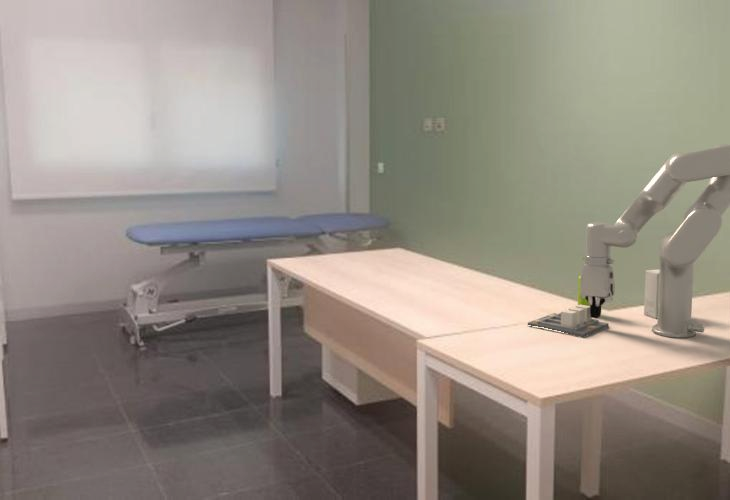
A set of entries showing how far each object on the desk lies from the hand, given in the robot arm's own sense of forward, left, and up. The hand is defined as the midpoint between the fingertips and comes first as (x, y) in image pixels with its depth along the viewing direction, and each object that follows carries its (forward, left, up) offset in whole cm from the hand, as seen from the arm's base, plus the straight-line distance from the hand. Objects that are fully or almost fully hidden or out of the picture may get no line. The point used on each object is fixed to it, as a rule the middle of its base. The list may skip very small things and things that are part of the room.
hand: (595, 316), depth 220 cm
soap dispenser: (+10, -14, -4) cm, 17 cm away
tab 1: (+4, +9, -2) cm, 10 cm away
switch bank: (+7, +4, -4) cm, 9 cm away
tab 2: (+4, +4, -2) cm, 7 cm away
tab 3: (+4, 0, -2) cm, 5 cm away
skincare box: (-9, -28, -4) cm, 29 cm away
